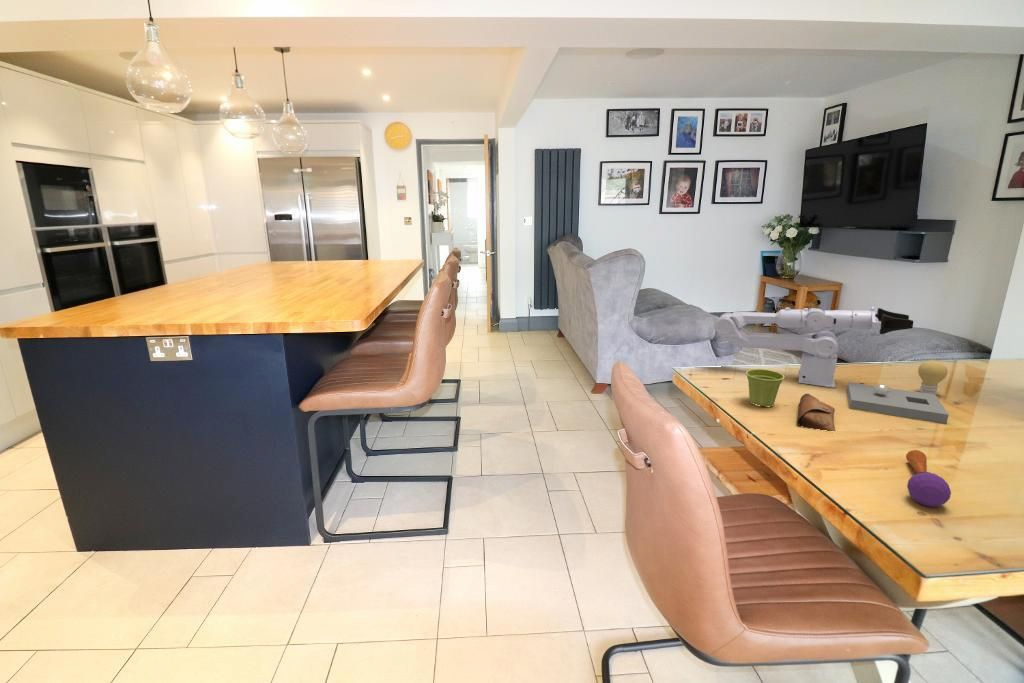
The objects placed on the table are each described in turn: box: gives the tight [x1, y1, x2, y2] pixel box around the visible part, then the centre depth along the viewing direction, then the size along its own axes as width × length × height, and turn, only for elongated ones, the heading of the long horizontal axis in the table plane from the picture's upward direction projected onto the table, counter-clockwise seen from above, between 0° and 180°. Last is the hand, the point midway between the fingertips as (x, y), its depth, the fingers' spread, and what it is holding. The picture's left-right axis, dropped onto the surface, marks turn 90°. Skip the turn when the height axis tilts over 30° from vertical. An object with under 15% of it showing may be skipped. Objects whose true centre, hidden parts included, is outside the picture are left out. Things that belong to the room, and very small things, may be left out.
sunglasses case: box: [797, 393, 836, 432], centre depth 125 cm, size 18×7×7 cm, turn 149°
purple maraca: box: [905, 449, 952, 507], centre depth 93 cm, size 6×6×20 cm
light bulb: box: [917, 360, 948, 395], centre depth 139 cm, size 6×6×10 cm
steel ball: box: [874, 383, 889, 396], centre depth 133 cm, size 3×3×3 cm
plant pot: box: [745, 368, 785, 407], centre depth 134 cm, size 9×9×9 cm
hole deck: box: [846, 382, 949, 425], centre depth 132 cm, size 20×16×2 cm
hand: (910, 321), depth 135 cm, fingers open, 7 cm apart
